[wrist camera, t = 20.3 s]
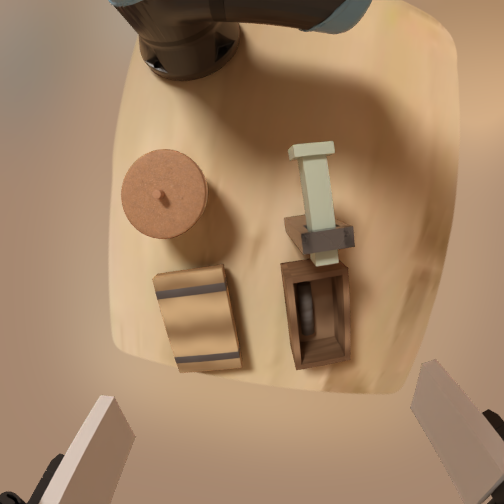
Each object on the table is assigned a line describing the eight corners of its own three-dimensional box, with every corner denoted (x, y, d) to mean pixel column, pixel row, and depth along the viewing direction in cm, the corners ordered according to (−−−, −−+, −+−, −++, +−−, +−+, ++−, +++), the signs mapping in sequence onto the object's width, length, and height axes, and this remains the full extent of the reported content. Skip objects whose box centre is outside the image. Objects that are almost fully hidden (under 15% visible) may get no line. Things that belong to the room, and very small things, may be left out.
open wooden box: (280, 263, 42) (285, 278, 36) (333, 255, 42) (348, 267, 35) (290, 345, 45) (296, 370, 39) (338, 336, 45) (350, 359, 38)
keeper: (284, 217, 41) (301, 233, 27) (319, 212, 41) (353, 226, 27) (285, 231, 41) (303, 254, 27) (321, 226, 41) (354, 246, 27)
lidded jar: (197, 240, 42) (183, 256, 32) (133, 213, 41) (104, 221, 32) (225, 171, 39) (218, 166, 30) (158, 145, 39) (134, 135, 29)
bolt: (287, 149, 30) (292, 144, 26) (323, 146, 30) (333, 141, 26) (302, 259, 33) (309, 269, 29) (336, 253, 32) (347, 262, 28)
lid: (159, 271, 43) (152, 279, 39) (224, 261, 42) (221, 269, 39) (184, 360, 46) (179, 373, 42) (242, 355, 46) (241, 367, 42)
